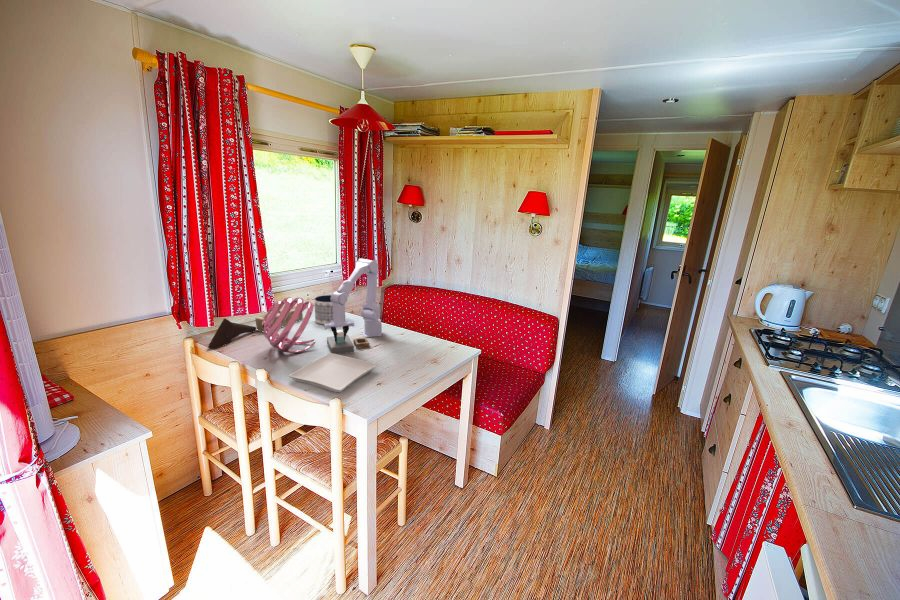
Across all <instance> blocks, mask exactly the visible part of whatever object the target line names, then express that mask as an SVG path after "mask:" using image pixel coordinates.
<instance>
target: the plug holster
mask: <svg viewBox="0 0 900 600" xmlns="http://www.w3.org/2000/svg"><path fill="white" fill-rule="evenodd" d="M352 340H353V341H352V343H353V345H354V348H356V349H364V348H365V349H366V348H370V342H369V340H368V339H367V337H359V338H353V339H352Z"/></svg>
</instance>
